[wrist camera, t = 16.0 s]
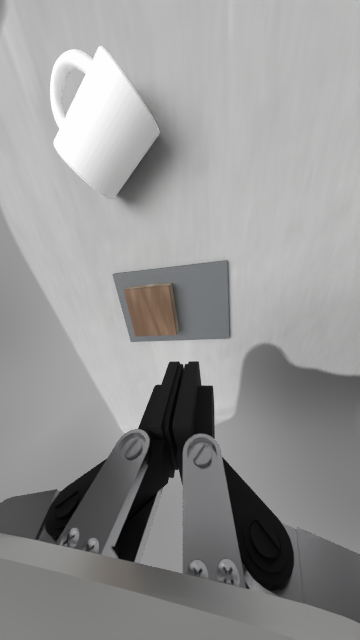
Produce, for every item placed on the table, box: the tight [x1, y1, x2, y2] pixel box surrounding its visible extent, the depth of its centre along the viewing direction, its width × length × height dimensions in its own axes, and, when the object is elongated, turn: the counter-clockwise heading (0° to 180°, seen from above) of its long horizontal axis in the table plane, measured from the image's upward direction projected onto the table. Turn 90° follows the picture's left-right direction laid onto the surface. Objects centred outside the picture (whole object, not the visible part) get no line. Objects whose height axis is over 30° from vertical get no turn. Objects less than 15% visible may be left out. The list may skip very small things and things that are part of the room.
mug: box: [50, 46, 160, 199], centre depth 22 cm, size 12×10×8 cm
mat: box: [113, 260, 229, 342], centre depth 33 cm, size 20×14×1 cm
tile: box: [124, 283, 179, 337], centre depth 33 cm, size 2×9×8 cm
